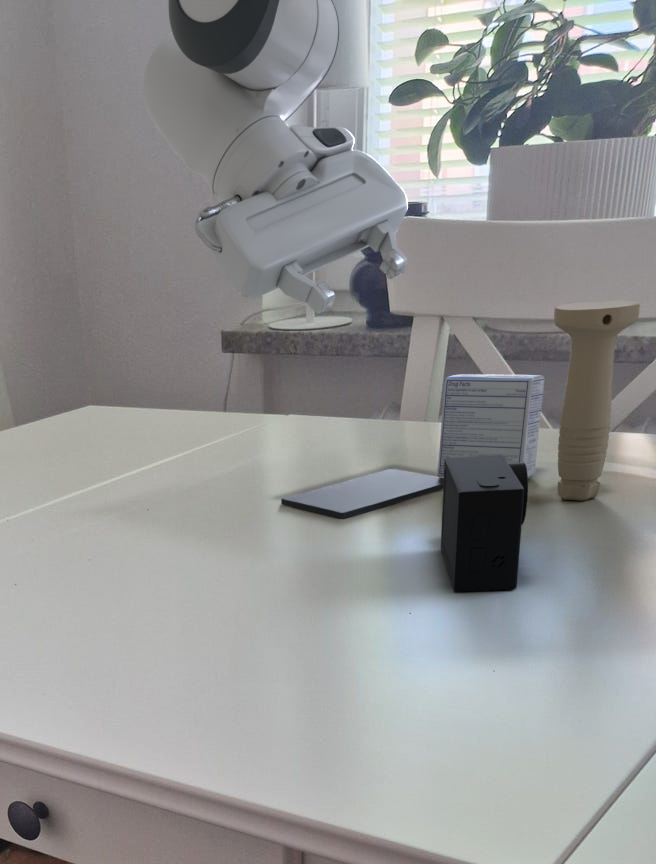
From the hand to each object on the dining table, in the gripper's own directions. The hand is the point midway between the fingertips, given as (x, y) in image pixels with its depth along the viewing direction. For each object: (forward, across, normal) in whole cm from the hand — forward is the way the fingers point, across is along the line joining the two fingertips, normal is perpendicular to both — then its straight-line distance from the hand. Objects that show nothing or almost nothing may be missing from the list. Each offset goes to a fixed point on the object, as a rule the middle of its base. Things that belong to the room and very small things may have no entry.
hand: (364, 288), depth 105 cm
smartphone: (+15, -10, +7) cm, 19 cm away
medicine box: (+20, 0, +5) cm, 20 cm away
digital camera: (+30, -20, -9) cm, 37 cm away
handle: (+28, 0, -2) cm, 28 cm away
